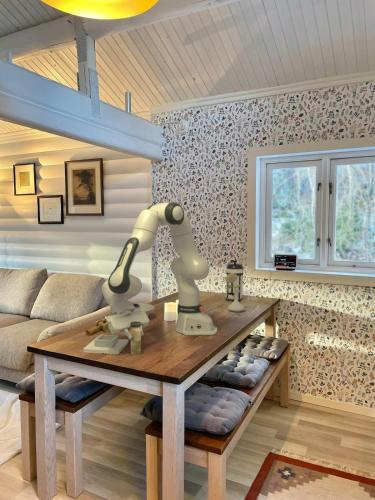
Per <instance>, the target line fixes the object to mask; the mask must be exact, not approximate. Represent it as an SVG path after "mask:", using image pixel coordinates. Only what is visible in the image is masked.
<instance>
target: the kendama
mask: <svg viewBox="0 0 375 500" xmlns="http://www.w3.org/2000/svg"><path fill="white" fill-rule="evenodd" d="M100 329H102V331H104V332H109V331H110V329H109V327H108V324H107V321H106V319H105V318H104V319H103V320H102V319H98V320H97V321H96V322H95V326H94V327H91V328H89V329H86V331H85V334H86V335H87V336H91V335H92V334H94V333H96V332H98V331H99V330H100Z"/></svg>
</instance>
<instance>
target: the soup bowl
mask: <svg viewBox="0 0 375 500" xmlns="http://www.w3.org/2000/svg"><path fill="white" fill-rule="evenodd" d="M135 303H136V304H140V305H141V308H140V309H143V310H144V311H145V313H146V314H147V316H148V317H149V315H150V313H152V311H154V310H155V306H154V305H152V304H150V303H145V302H143V303H142V302H135Z"/></svg>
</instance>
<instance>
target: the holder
mask: <svg viewBox="0 0 375 500" xmlns="http://www.w3.org/2000/svg"><path fill="white" fill-rule="evenodd" d="M128 344H129V339H123V338H119V335H117V334H100V335H99V336H97V337H95V338H94V339H93V340H91V342H90V343H88V344H87V345H86V346H84V348H83V349H82V353H86V354H87V353H88V354H89V353H90V354H102V353H104V355H105V353H106V355H119V354H120V353H121V352H122V351H123V350H124V348H125V347H126V346H127V345H128Z"/></svg>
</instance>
